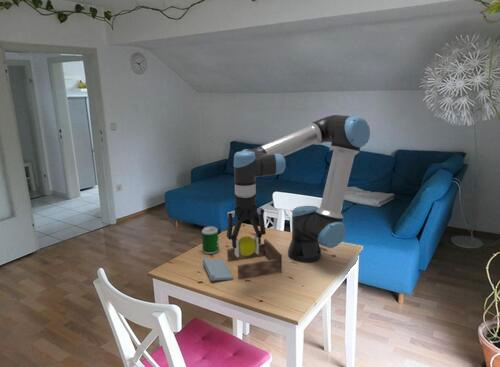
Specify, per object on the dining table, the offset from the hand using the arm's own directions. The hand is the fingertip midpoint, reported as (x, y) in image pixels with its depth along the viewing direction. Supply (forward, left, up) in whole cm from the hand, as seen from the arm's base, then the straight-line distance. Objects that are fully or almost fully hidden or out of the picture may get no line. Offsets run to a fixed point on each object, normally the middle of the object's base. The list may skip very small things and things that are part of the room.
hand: (246, 253), depth 138 cm
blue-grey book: (+3, -17, -13) cm, 22 cm away
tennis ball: (0, 0, -1) cm, 1 cm away
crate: (-8, -17, -15) cm, 24 cm away
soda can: (+6, -38, -15) cm, 41 cm away
